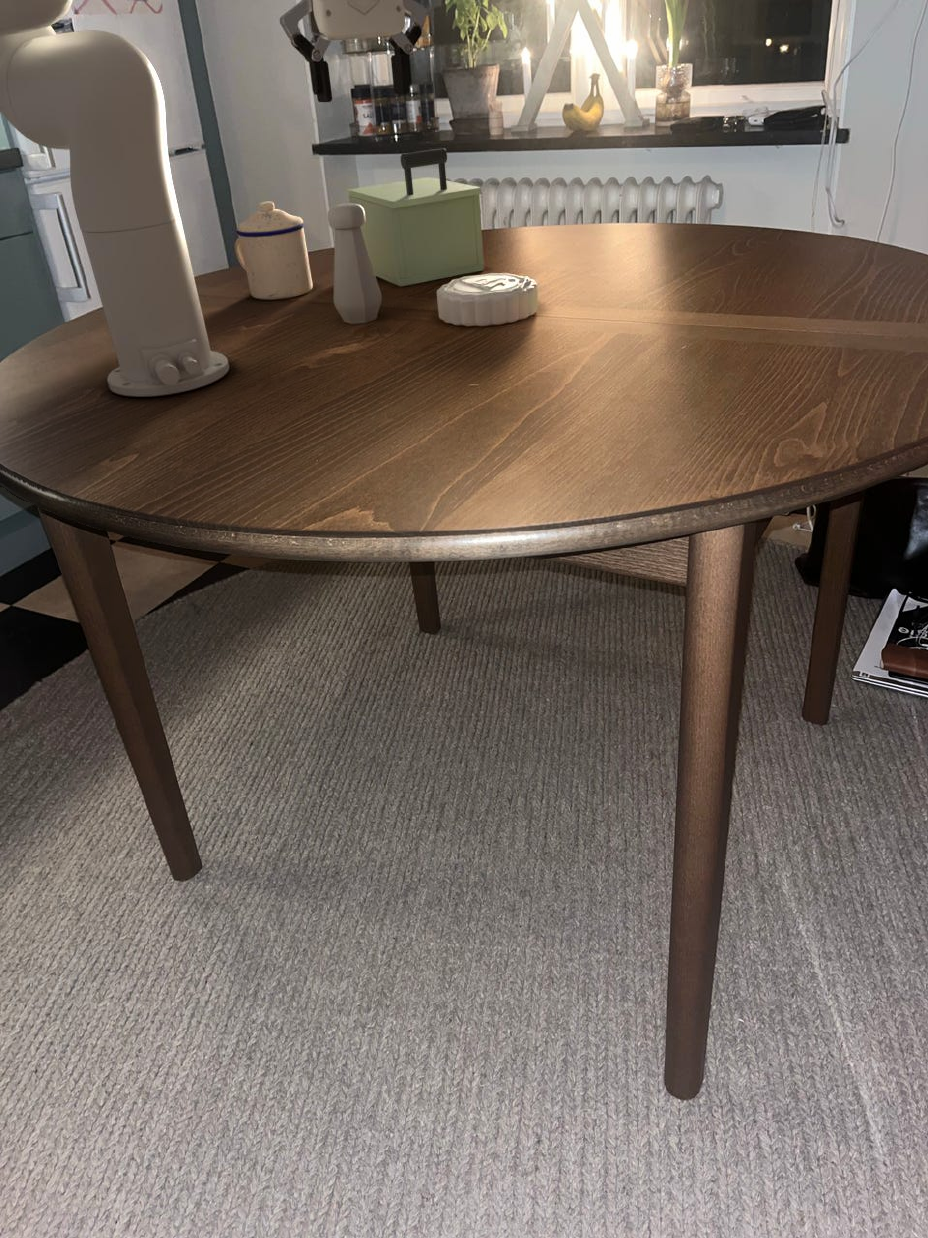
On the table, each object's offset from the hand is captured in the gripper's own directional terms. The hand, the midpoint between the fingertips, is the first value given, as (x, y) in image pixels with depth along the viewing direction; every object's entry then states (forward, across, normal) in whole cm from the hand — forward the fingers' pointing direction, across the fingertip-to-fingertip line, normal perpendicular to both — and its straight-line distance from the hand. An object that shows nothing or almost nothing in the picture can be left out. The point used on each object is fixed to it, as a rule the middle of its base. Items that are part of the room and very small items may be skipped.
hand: (364, 97), depth 109 cm
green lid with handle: (+13, +11, +14) cm, 22 cm away
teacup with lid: (+23, -9, +18) cm, 31 cm away
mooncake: (+23, +7, -14) cm, 28 cm away
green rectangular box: (+23, +12, +15) cm, 30 cm away
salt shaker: (+24, -6, -5) cm, 25 cm away
